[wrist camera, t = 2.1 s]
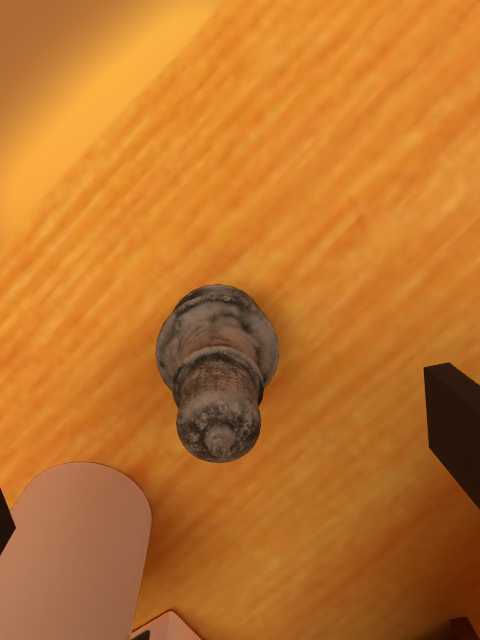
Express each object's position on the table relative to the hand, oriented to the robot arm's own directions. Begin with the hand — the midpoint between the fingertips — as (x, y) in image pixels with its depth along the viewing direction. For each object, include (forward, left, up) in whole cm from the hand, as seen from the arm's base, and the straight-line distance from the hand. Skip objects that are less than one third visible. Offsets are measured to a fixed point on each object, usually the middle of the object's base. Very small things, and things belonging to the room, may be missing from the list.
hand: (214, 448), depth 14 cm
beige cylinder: (+10, +11, -12) cm, 19 cm away
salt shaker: (0, 0, -12) cm, 12 cm away
